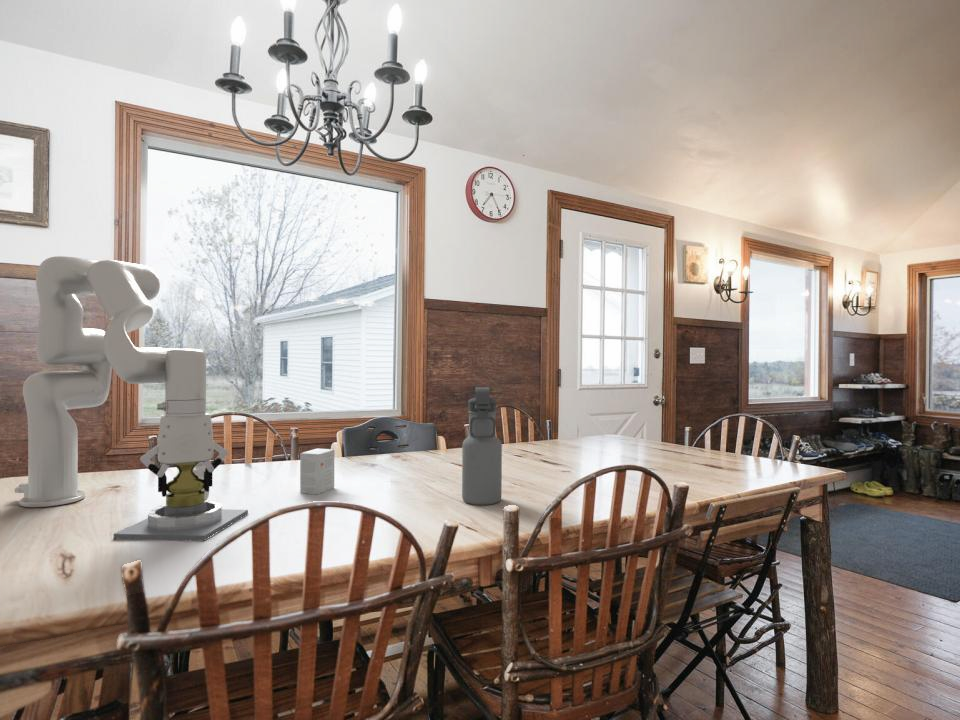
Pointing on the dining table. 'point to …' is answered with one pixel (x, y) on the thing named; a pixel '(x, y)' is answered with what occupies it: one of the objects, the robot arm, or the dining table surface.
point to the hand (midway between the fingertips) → (185, 492)
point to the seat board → (201, 533)
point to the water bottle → (482, 453)
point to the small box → (316, 471)
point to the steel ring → (184, 517)
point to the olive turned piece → (185, 488)
